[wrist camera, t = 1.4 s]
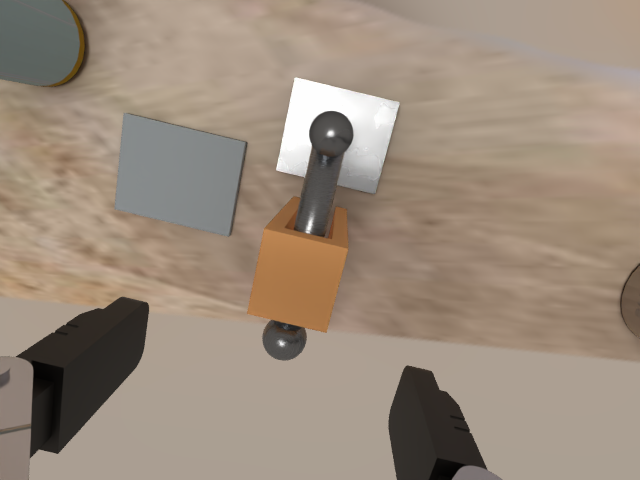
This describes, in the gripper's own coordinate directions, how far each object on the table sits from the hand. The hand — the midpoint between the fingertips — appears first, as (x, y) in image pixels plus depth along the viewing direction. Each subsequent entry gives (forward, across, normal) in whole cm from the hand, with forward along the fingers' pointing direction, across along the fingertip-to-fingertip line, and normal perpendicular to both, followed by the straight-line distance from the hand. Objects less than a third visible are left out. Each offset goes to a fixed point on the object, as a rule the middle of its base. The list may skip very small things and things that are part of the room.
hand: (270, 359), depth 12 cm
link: (+18, 0, 0) cm, 18 cm away
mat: (+22, +12, -1) cm, 25 cm away
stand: (+22, 0, -3) cm, 22 cm away
